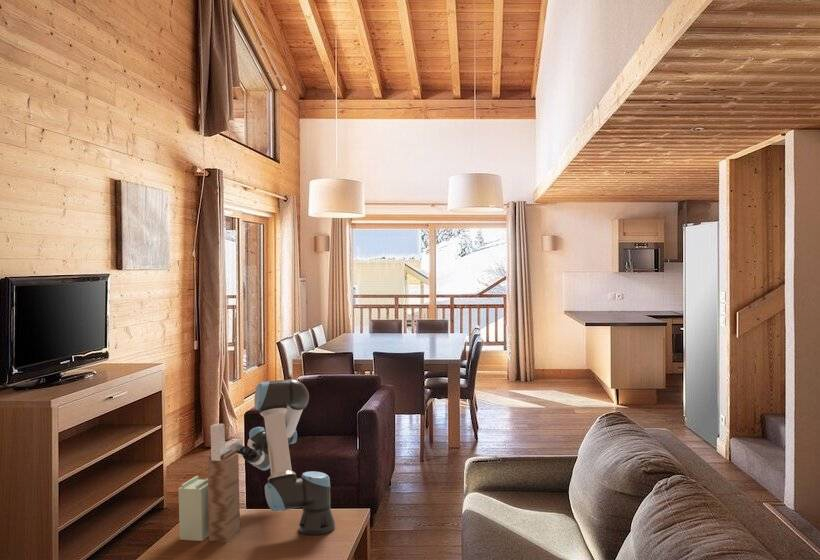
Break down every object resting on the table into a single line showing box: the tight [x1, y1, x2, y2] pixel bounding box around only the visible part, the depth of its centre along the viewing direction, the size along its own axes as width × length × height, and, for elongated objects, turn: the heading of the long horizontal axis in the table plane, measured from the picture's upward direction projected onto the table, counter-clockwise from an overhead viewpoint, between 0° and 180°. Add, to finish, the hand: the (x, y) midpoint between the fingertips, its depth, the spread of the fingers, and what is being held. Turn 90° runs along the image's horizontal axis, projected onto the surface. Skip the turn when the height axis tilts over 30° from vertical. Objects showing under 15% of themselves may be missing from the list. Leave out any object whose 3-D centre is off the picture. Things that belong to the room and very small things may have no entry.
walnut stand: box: [207, 449, 241, 543], centre depth 267 cm, size 8×11×34 cm
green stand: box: [178, 475, 209, 542], centre depth 270 cm, size 10×12×22 cm
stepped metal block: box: [210, 423, 244, 461], centre depth 271 cm, size 20×4×14 cm, turn 168°
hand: (233, 441), depth 277 cm, fingers open, 13 cm apart
